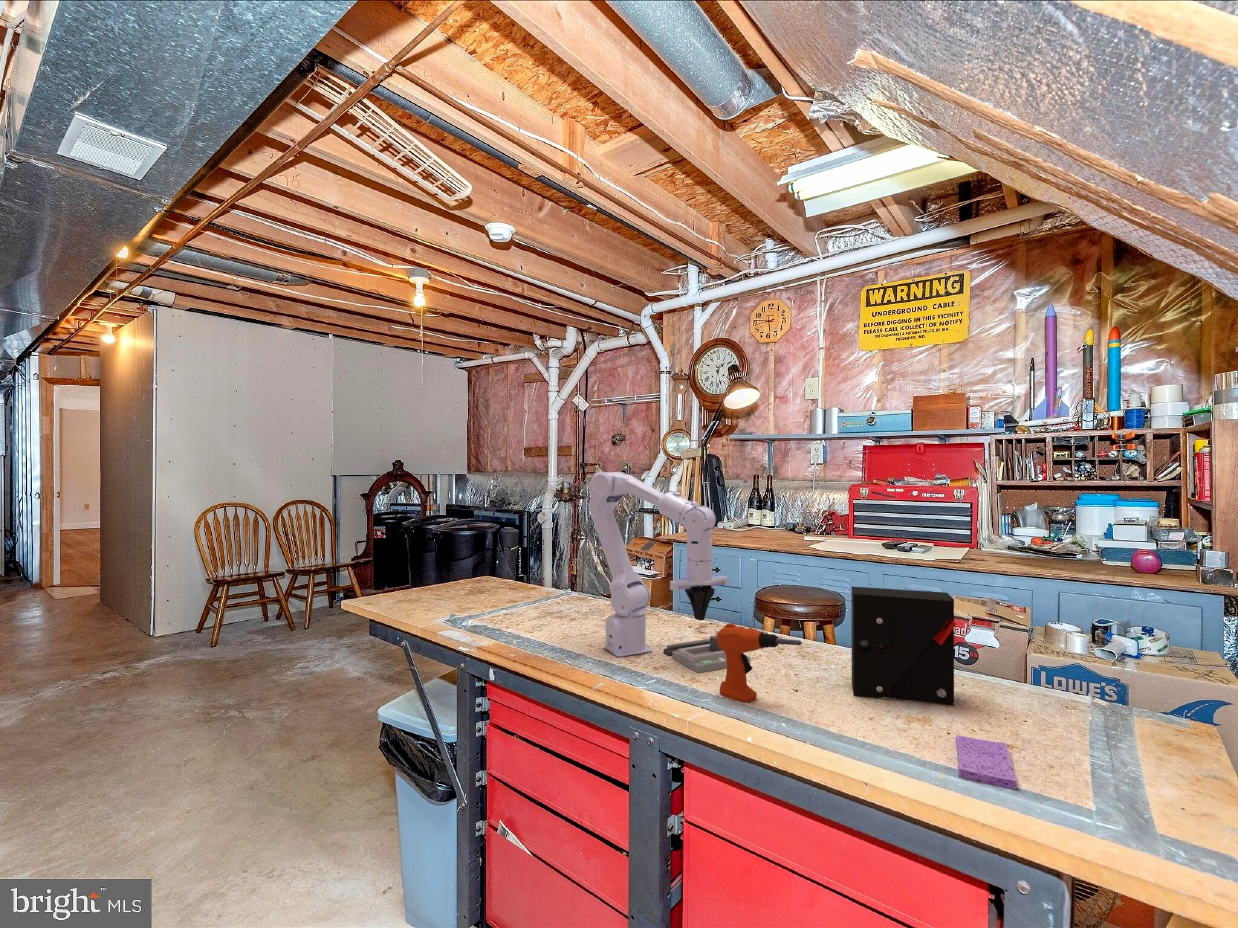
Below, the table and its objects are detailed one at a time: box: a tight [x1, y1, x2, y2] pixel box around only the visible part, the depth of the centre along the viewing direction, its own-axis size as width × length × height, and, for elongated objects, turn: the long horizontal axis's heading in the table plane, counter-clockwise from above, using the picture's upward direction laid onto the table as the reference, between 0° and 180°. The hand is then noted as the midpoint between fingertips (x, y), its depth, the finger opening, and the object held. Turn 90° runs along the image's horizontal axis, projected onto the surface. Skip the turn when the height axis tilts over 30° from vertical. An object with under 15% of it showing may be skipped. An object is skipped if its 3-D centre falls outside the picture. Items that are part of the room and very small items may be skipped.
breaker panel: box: [671, 644, 751, 674], centre depth 133 cm, size 14×11×3 cm
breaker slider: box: [709, 628, 722, 652], centre depth 134 cm, size 4×3×5 cm
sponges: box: [955, 734, 1017, 790], centre depth 87 cm, size 7×13×2 cm, turn 152°
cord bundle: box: [663, 638, 710, 656], centre depth 140 cm, size 14×3×2 cm, turn 116°
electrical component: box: [850, 586, 957, 707], centre depth 114 cm, size 18×10×20 cm, turn 71°
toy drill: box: [717, 622, 803, 703], centre depth 110 cm, size 5×18×14 cm, turn 50°
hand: (699, 619), depth 132 cm, fingers closed
